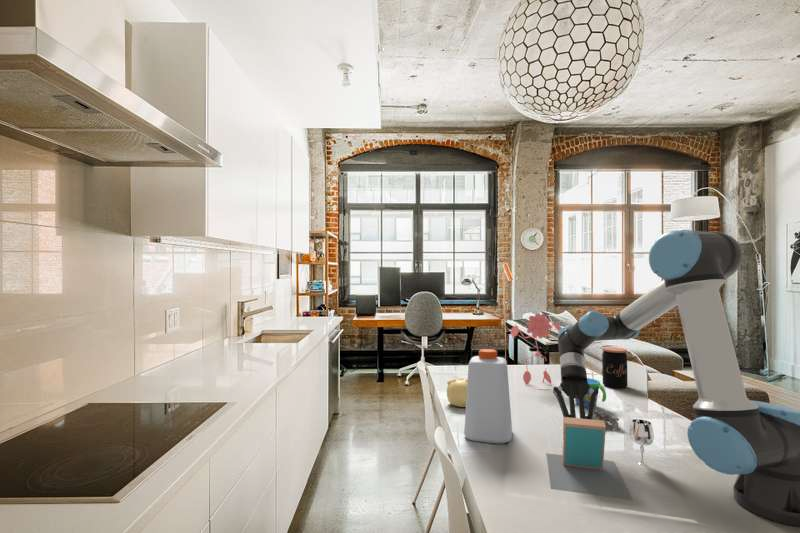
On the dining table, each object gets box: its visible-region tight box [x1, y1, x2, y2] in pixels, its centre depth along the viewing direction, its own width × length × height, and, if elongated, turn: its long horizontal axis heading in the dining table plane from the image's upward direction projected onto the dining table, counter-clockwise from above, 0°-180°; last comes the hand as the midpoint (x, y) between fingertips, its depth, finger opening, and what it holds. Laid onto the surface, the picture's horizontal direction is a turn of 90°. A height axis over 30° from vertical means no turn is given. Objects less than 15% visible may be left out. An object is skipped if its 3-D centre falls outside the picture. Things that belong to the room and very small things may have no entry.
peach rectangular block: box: [561, 416, 607, 470], centre depth 110 cm, size 3×10×14 cm, turn 73°
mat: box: [545, 452, 634, 501], centre depth 108 cm, size 21×18×1 cm
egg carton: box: [592, 410, 620, 431], centre depth 146 cm, size 11×8×4 cm
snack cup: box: [574, 377, 607, 409], centre depth 168 cm, size 16×10×10 cm
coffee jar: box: [601, 346, 628, 390], centre depth 197 cm, size 11×11×18 cm
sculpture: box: [446, 377, 468, 408], centre depth 168 cm, size 12×12×11 cm
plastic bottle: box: [463, 348, 513, 445], centre depth 136 cm, size 15×15×28 cm
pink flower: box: [510, 312, 563, 391], centre depth 198 cm, size 15×26×35 cm, turn 94°
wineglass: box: [629, 418, 655, 466], centre depth 114 cm, size 6×6×12 cm
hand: (580, 444), depth 113 cm, fingers closed
